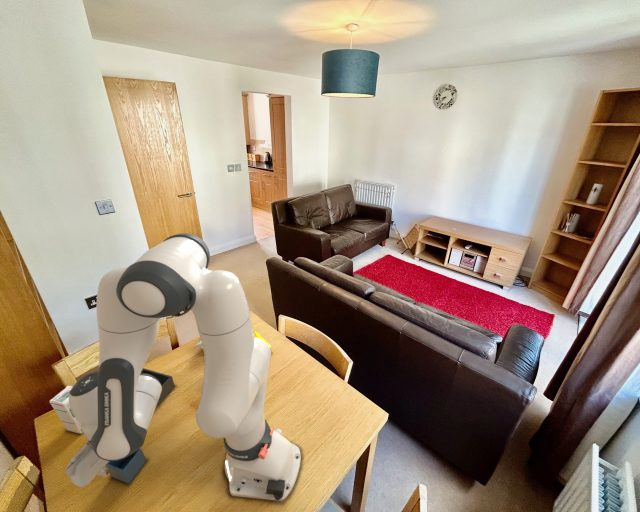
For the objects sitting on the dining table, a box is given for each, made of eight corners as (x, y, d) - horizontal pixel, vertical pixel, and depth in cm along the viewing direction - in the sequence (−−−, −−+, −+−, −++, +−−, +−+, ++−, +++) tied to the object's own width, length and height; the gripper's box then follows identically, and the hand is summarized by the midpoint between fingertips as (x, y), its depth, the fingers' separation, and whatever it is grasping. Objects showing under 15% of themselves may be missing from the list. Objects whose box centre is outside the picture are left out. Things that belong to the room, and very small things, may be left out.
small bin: (146, 460, 81) (141, 449, 78) (128, 483, 76) (122, 472, 73) (130, 454, 82) (124, 442, 80) (111, 477, 77) (105, 464, 74)
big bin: (175, 386, 104) (172, 376, 101) (146, 418, 92) (142, 408, 90) (146, 378, 107) (143, 368, 104) (115, 408, 95) (111, 397, 93)
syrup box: (81, 434, 87) (64, 404, 81) (66, 430, 88) (48, 400, 82) (97, 417, 92) (83, 388, 86) (83, 414, 93) (67, 384, 87)
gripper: (73, 472, 60) (93, 503, 66) (149, 394, 78) (159, 424, 84) (52, 463, 62) (73, 494, 68) (131, 388, 80) (142, 418, 86)
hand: (121, 455), depth 76 cm, fingers open, 8 cm apart
